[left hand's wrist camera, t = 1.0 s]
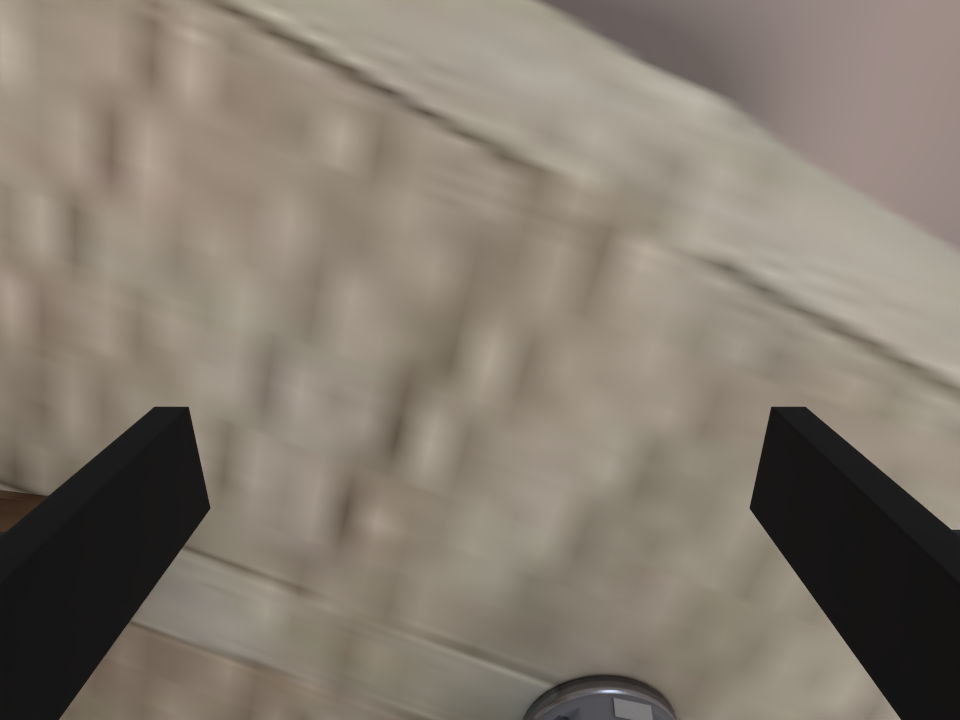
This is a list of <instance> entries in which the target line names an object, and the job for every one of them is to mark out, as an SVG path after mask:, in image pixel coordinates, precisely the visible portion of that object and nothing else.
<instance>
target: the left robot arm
mask: <svg viewBox="0 0 960 720" xmlns="http://www.w3.org/2000/svg"><path fill="white" fill-rule="evenodd" d="M209 510H210V504H209V500H208V495H207V490H206V486H205V481H204V476H203V472H202V467H201V462H200V458H199V453H198V448H197V444H196V439H195V434H194V430H193V425H192V420H191V416H190V411H189V407H154V408H153V409H151V410H150V411H149V412H148V413H147V414H145V415H144V416H143V417H142V418H141V419H140V420H138V421H137V422H136V423H135V424H134V425H132V426H131V427H130V428H129V429H128V430H127V431H125V432H124V433H123V434H122V435H121V436H119V437H118V438H117V439H116V440H115V441H113V442H112V443H111V444H110V445H109V446H108V447H106V448H105V449H104V450H103V451H102V452H100V453H99V454H98V455H97V456H96V457H94V458H93V459H92V460H91V461H90V462H89V463H87V464H86V465H85V466H84V467H83V468H81V469H80V470H79V471H78V472H77V473H75V474H74V475H73V476H72V477H71V478H70V479H68V480H67V481H66V482H65V483H64V484H62V485H61V486H60V487H59V488H58V489H56V490H55V491H54V492H53V493H52V494H51V495H49V496H48V497H47V498H46V499H45V500H43V501H42V502H41V503H40V504H39V505H37V506H36V507H35V508H34V509H33V510H32V511H30V512H29V513H28V514H27V515H26V516H24V517H23V518H22V519H21V520H20V521H19V522H17V523H16V524H15V525H14V526H13V527H11V528H10V529H9V530H8V531H7V532H0V720H59V719H60V717H61V716H62V715H63V713H64V712H65V710H66V709H67V708H68V706H69V705H70V703H71V702H72V701H73V699H74V698H75V696H76V695H77V694H78V692H79V691H80V689H81V688H82V687H83V685H84V684H85V682H86V681H87V680H88V678H89V677H90V676H91V674H92V673H93V671H94V670H95V669H96V667H97V666H98V664H99V663H100V662H101V660H102V659H103V657H104V656H105V655H106V653H107V652H108V650H109V649H110V648H111V646H112V645H113V643H114V642H115V641H116V639H117V638H118V636H119V635H120V634H121V632H122V631H123V630H124V628H125V627H126V625H127V624H128V623H129V621H130V620H131V618H132V617H133V616H134V614H135V613H136V611H137V610H138V609H139V607H140V606H141V604H142V603H143V602H144V600H145V599H146V597H147V596H148V595H149V593H150V592H151V591H152V589H153V588H154V586H155V585H156V584H157V582H158V581H159V579H160V578H161V577H162V575H163V574H164V572H165V571H166V570H167V568H168V567H169V565H170V564H171V563H172V561H173V560H174V558H175V557H176V556H177V554H178V553H179V551H180V550H181V549H182V547H183V546H184V545H185V543H186V542H187V540H188V539H189V538H190V536H191V535H192V533H193V532H194V531H195V529H196V528H197V526H198V525H199V524H200V522H201V521H202V519H203V518H204V517H205V515H206V514H207V512H208V511H209ZM750 510H751V511H752V512H753V514H754V515H755V517H756V518H757V519H758V521H759V522H760V524H761V525H762V526H763V528H764V529H765V531H766V532H767V533H768V535H769V536H770V538H771V539H772V540H773V542H774V543H775V545H776V546H777V547H778V549H779V550H780V551H781V553H782V554H783V556H784V557H785V558H786V560H787V561H788V563H789V564H790V565H791V567H792V568H793V570H794V571H795V572H796V574H797V575H798V577H799V578H800V579H801V581H802V582H803V584H804V585H805V586H806V588H807V589H808V591H809V592H810V593H811V595H812V596H813V597H814V599H815V600H816V602H817V603H818V604H819V606H820V607H821V609H822V610H823V611H824V613H825V614H826V616H827V617H828V618H829V620H830V621H831V623H832V624H833V625H834V627H835V628H836V630H837V631H838V632H839V634H840V635H841V636H842V638H843V639H844V641H845V642H846V643H847V645H848V646H849V648H850V649H851V650H852V652H853V653H854V655H855V656H856V657H857V659H858V660H859V662H860V663H861V664H862V666H863V667H864V669H865V670H866V671H867V673H868V674H869V676H870V677H871V678H872V680H873V681H874V682H875V684H876V685H877V687H878V688H879V689H880V691H881V692H882V694H883V695H884V696H885V698H886V699H887V701H888V702H889V703H890V705H891V706H892V708H893V709H894V710H895V712H896V713H897V715H898V716H899V717H900V719H901V720H960V530H951V529H950V528H949V527H947V526H946V525H945V524H944V523H943V522H941V521H940V520H939V519H938V518H937V517H936V516H934V515H933V514H932V513H931V512H930V511H928V510H927V509H926V508H925V507H924V506H923V505H921V504H920V503H919V502H918V501H917V500H915V499H914V498H913V497H912V496H911V495H909V494H908V493H907V492H906V491H905V490H904V489H902V488H901V487H900V486H899V485H898V484H896V483H895V482H894V481H893V480H892V479H890V478H889V477H888V476H887V475H886V474H885V473H883V472H882V471H881V470H880V469H879V468H877V467H876V466H875V465H874V464H873V463H871V462H870V461H869V460H868V459H867V458H866V457H864V456H863V455H862V454H861V453H860V452H858V451H857V450H856V449H855V448H854V447H852V446H851V445H850V444H849V443H848V442H847V441H845V440H844V439H843V438H842V437H841V436H839V435H838V434H837V433H836V432H835V431H833V430H832V429H831V428H830V427H829V426H828V425H826V424H825V423H824V422H823V421H822V420H820V419H819V418H818V417H817V416H816V415H815V414H813V413H812V412H811V411H810V410H809V409H807V408H806V407H771V411H770V416H769V420H768V425H767V430H766V434H765V439H764V444H763V448H762V453H761V458H760V462H759V467H758V472H757V476H756V481H755V486H754V490H753V495H752V500H751V504H750ZM524 720H677V719H676V716H675V713H674V711H673V709H672V707H671V705H670V704H669V702H668V701H667V700H666V699H665V697H664V696H662V695H661V694H660V693H659V692H657V691H656V690H655V689H653V688H651V687H649V686H648V685H645V684H643V683H641V682H638V681H635V680H631V679H627V678H621V677H611V676H599V677H588V678H583V679H578V680H574V681H571V682H568V683H565V684H563V685H560V686H558V687H556V688H554V689H552V690H551V691H549V692H547V693H546V694H545V695H543V696H542V697H541V698H539V699H538V700H537V701H536V702H535V703H534V704H533V705H532V707H531V708H530V709H529V711H528V712H527V714H526V716H525V718H524Z"/></svg>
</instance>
